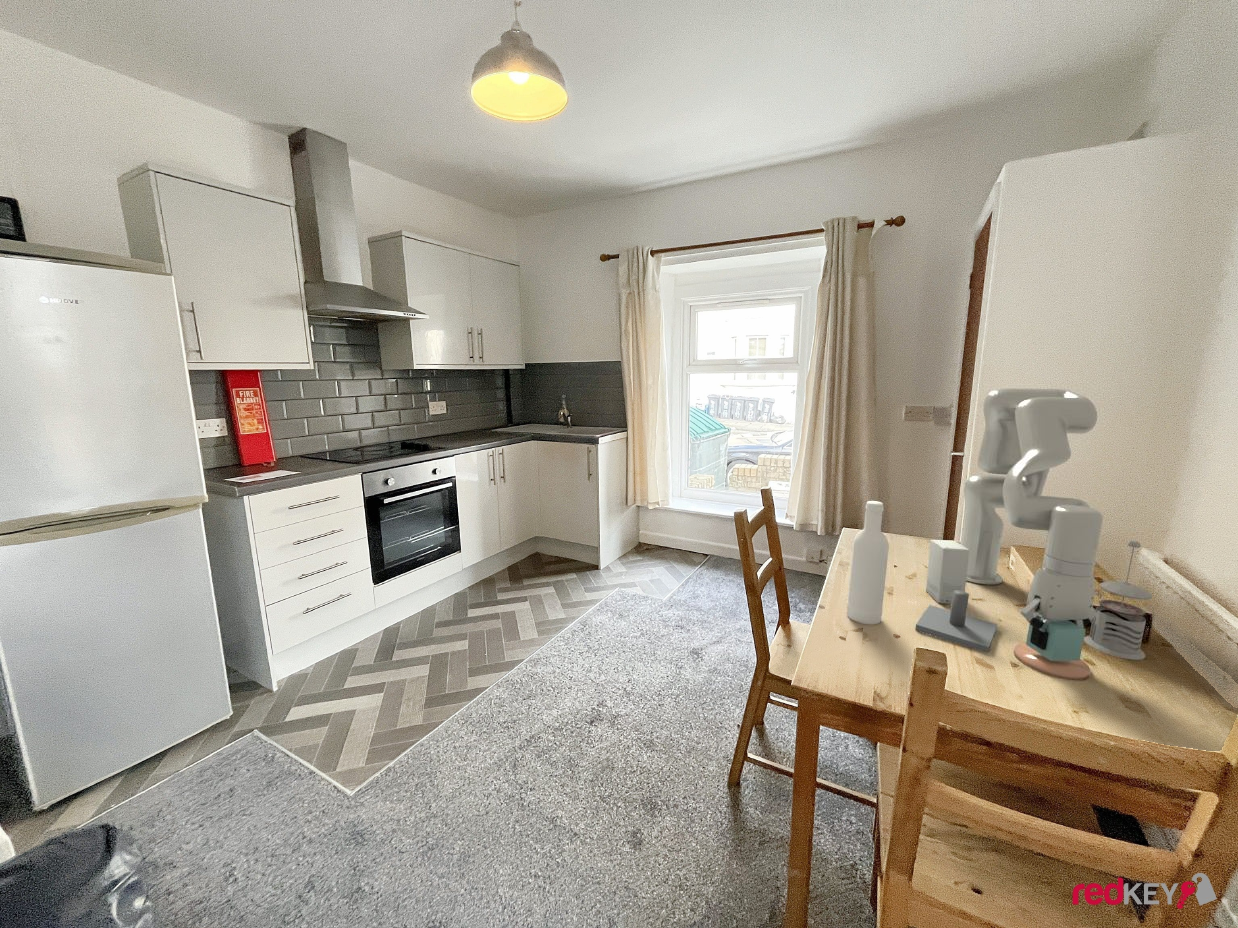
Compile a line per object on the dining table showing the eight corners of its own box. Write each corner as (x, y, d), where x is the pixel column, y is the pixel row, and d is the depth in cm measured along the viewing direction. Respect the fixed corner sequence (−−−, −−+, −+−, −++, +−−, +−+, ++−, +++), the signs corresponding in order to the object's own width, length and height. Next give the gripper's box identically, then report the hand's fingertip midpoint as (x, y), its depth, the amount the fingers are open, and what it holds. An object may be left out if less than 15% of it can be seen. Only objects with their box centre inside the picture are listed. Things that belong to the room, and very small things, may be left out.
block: (1053, 644, 104) (1058, 614, 102) (1079, 660, 98) (1085, 629, 97) (1025, 644, 104) (1031, 614, 102) (1050, 660, 98) (1056, 629, 96)
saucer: (1016, 640, 109) (1017, 636, 109) (1089, 662, 101) (1090, 658, 101) (1010, 662, 101) (1011, 658, 101) (1089, 688, 93) (1090, 683, 93)
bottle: (880, 613, 122) (892, 500, 117) (882, 627, 115) (895, 508, 110) (845, 607, 125) (856, 497, 120) (846, 620, 118) (857, 504, 113)
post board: (929, 610, 124) (933, 575, 122) (996, 629, 114) (1002, 592, 113) (915, 630, 114) (919, 593, 112) (987, 653, 104) (994, 613, 103)
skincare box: (963, 605, 126) (971, 550, 124) (936, 603, 128) (943, 548, 125) (949, 592, 134) (956, 539, 132) (923, 590, 136) (929, 538, 133)
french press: (1153, 664, 100) (1178, 552, 96) (1079, 648, 106) (1099, 542, 102) (1136, 643, 109) (1158, 538, 104) (1068, 629, 115) (1086, 530, 110)
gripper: (1090, 558, 101) (1076, 636, 104) (1010, 558, 101) (998, 636, 104) (1128, 572, 94) (1111, 656, 97) (1042, 573, 93) (1027, 656, 97)
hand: (1053, 645), depth 100 cm, fingers closed on block, 5 cm apart
